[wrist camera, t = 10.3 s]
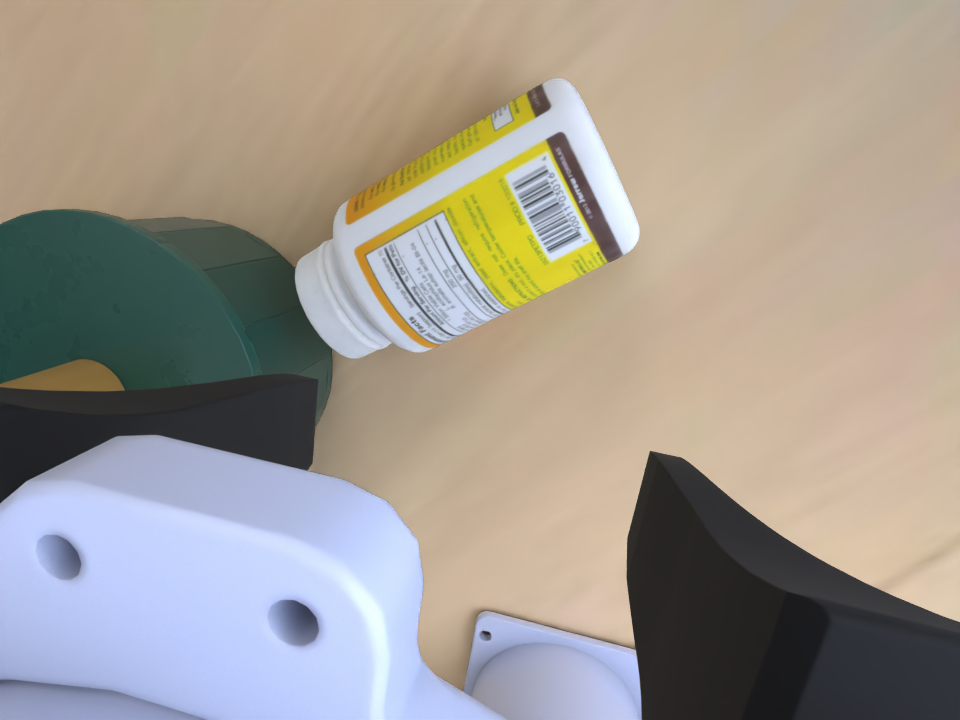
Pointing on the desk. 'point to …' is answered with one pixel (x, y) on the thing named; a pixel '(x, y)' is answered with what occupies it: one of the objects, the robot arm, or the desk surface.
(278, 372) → the tin
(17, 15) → the desk surface
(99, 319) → the lid
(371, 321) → the supplement bottle
